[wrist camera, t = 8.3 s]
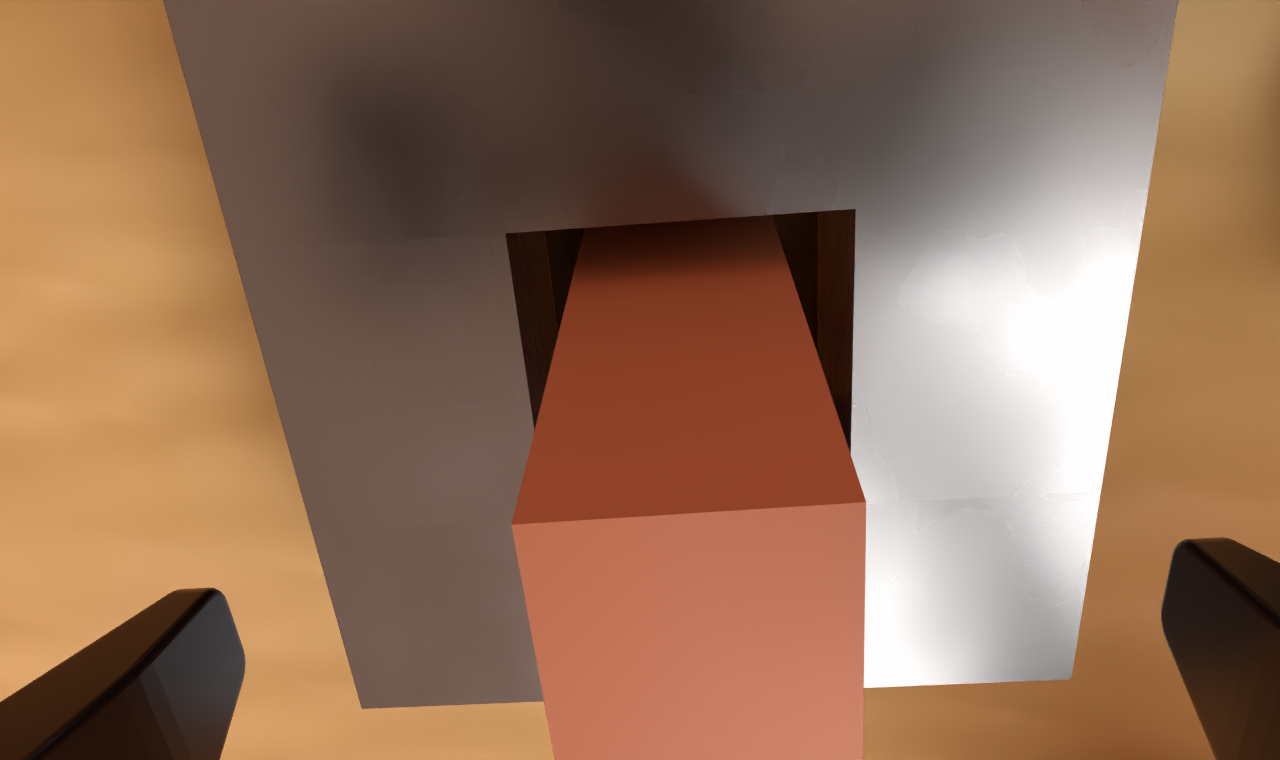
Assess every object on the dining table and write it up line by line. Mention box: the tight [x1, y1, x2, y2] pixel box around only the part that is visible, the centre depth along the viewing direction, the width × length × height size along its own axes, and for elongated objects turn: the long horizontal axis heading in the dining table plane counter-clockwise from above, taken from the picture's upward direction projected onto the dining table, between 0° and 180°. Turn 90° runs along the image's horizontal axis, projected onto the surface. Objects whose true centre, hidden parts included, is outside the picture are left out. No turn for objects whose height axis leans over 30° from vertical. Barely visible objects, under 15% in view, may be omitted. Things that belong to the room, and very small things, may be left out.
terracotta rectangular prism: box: [511, 215, 866, 760], centre depth 13 cm, size 3×3×9 cm
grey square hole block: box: [163, 0, 1178, 709], centre depth 15 cm, size 12×12×4 cm
